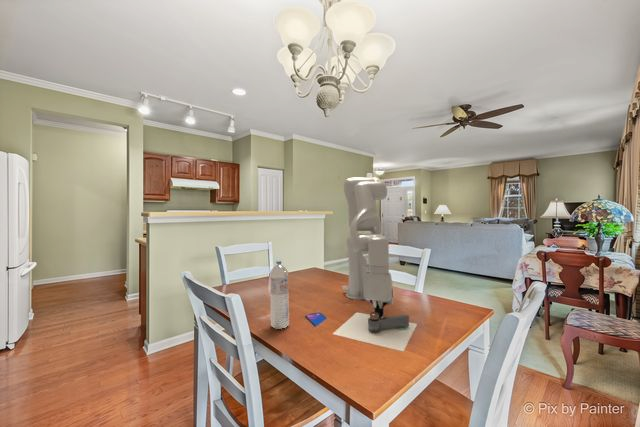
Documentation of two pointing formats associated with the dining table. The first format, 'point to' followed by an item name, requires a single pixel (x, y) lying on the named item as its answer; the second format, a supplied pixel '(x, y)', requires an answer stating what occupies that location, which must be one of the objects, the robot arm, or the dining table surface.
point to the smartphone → (316, 318)
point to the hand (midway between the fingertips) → (379, 317)
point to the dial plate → (386, 338)
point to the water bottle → (279, 296)
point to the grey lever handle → (386, 322)
